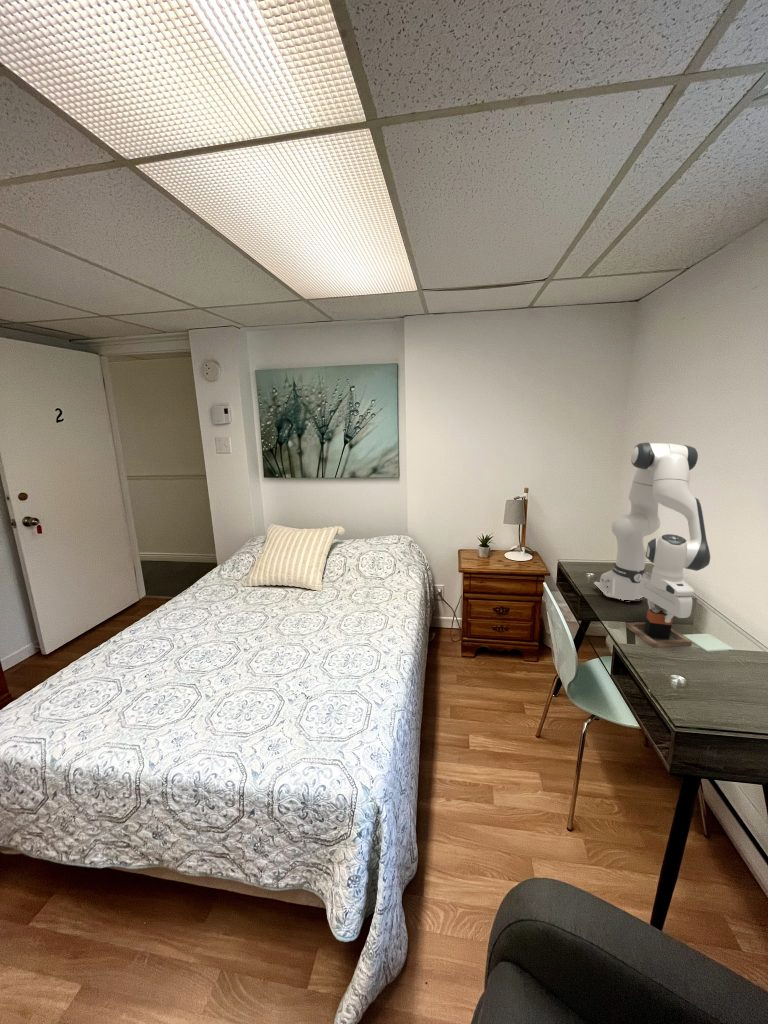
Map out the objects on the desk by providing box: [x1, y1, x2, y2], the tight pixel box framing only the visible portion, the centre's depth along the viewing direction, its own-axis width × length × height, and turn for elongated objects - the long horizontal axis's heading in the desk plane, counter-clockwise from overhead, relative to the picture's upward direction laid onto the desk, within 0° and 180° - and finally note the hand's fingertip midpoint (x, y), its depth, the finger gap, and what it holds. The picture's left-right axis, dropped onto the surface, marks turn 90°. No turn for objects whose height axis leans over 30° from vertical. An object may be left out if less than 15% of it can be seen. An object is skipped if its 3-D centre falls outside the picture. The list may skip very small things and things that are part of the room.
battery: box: [643, 607, 674, 640], centre depth 141 cm, size 4×7×10 cm, turn 75°
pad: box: [682, 633, 735, 653], centre depth 137 cm, size 10×10×1 cm
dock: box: [625, 621, 693, 648], centre depth 142 cm, size 14×14×2 cm
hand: (659, 617), depth 141 cm, fingers open, 5 cm apart
